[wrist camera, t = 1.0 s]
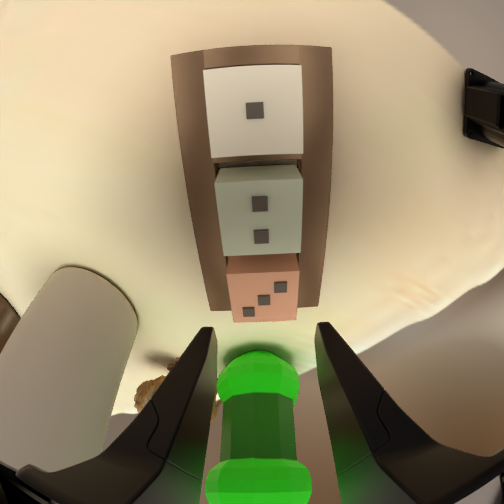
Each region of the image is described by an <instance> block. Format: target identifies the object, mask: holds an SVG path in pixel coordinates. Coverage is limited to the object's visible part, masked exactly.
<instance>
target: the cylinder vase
mask: <svg viewBox="0 0 504 504" xmlns="http://www.w3.org/2000/svg"><path fill="white" fill-rule="evenodd" d="M137 330H138V322H137V318H136V314H135V312H134V310H133V308H132V306H131V305H130V303H129V302H128V300H127V299H126V298H125V296H124V295H123V294H122V293H121V292H120V291H119V290H118V289H117V288H116V287H115V286H113V285H112V284H111V283H110V282H108V281H107V280H105V279H104V278H102V277H101V276H99V275H97V274H95V273H93V272H91V271H88V270H85V269H81V268H76V267H66V268H62V269H59V270H57V271H55V272H54V273H53V274H52V275H51V276H50V277H49V279H48V280H47V281H46V283H45V284H44V286H43V287H42V288H41V290H40V291H39V293H38V294H37V295H36V297H35V298H34V300H33V301H32V303H31V304H30V306H29V307H28V309H27V310H26V312H25V313H24V315H23V316H22V318H21V319H20V321H19V322H18V324H17V326H16V327H15V329H14V331H13V332H12V334H11V336H10V337H9V339H8V341H7V343H6V344H5V346H4V348H3V350H2V352H1V354H0V461H2V462H4V463H5V464H7V465H9V466H11V467H13V468H15V469H17V470H19V469H20V468H22V467H24V466H26V465H27V464H32V465H34V466H36V467H38V468H40V469H42V470H45V471H47V472H55V471H58V470H61V469H64V468H67V467H70V466H73V465H76V464H78V463H81V462H84V461H86V460H89V459H91V458H94V457H96V456H98V455H99V454H101V453H102V448H103V444H104V440H105V436H106V432H107V428H108V424H109V420H110V417H111V413H112V409H113V406H114V402H115V399H116V395H117V392H118V389H119V385H120V382H121V379H122V376H123V373H124V369H125V366H126V363H127V360H128V357H129V354H130V351H131V348H132V346H133V343H134V340H135V337H136V334H137Z"/></svg>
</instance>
